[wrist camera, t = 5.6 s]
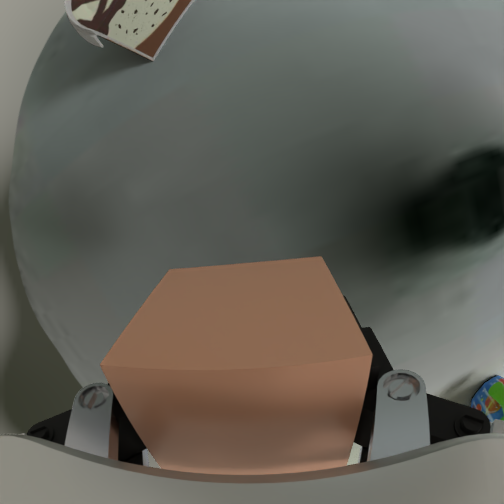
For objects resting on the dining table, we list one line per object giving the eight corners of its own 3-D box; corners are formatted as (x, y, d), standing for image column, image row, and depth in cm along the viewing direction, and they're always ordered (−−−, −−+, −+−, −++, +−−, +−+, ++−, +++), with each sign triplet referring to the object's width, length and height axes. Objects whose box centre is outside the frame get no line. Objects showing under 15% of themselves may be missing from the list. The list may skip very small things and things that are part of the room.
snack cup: (503, 392, 33) (527, 424, 24) (463, 424, 35) (484, 460, 26) (507, 347, 29) (541, 383, 20) (460, 387, 31) (490, 430, 22)
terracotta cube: (321, 256, 10) (372, 354, 5) (320, 373, 12) (341, 478, 7) (169, 269, 10) (99, 364, 5) (198, 380, 12) (171, 481, 7)
